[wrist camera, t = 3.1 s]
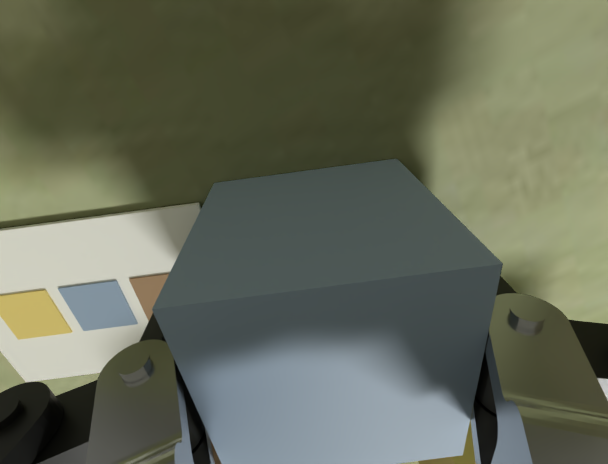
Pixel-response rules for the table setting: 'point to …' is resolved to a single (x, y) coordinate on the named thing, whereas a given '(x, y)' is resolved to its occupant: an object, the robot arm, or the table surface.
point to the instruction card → (84, 287)
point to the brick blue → (330, 318)
